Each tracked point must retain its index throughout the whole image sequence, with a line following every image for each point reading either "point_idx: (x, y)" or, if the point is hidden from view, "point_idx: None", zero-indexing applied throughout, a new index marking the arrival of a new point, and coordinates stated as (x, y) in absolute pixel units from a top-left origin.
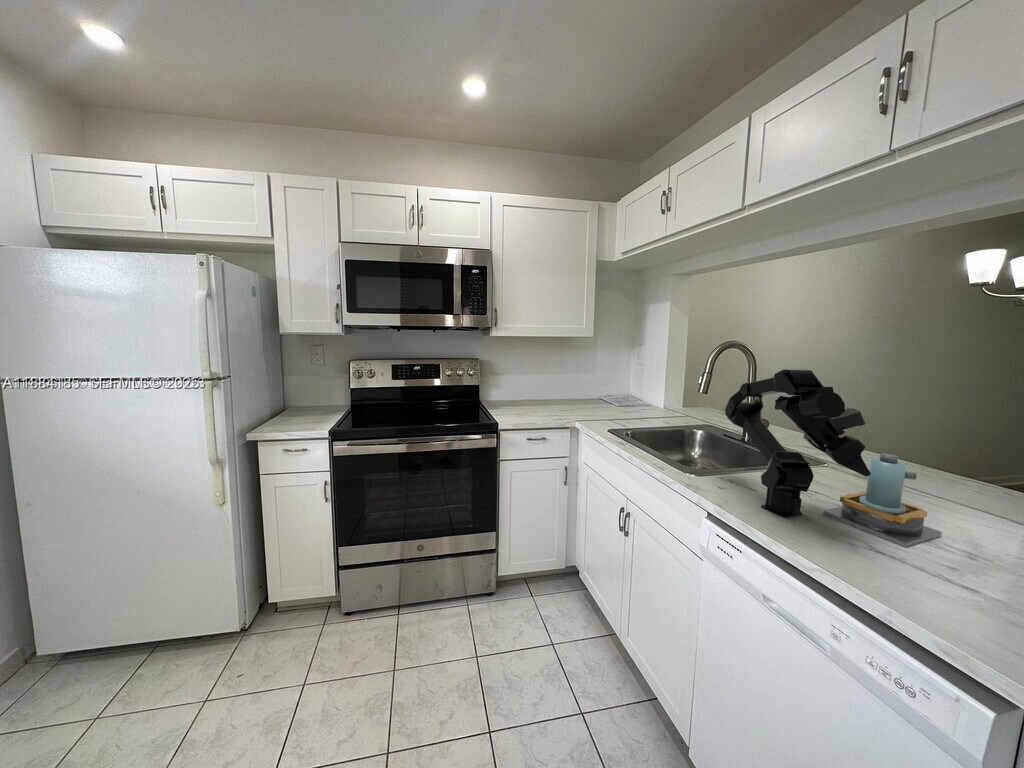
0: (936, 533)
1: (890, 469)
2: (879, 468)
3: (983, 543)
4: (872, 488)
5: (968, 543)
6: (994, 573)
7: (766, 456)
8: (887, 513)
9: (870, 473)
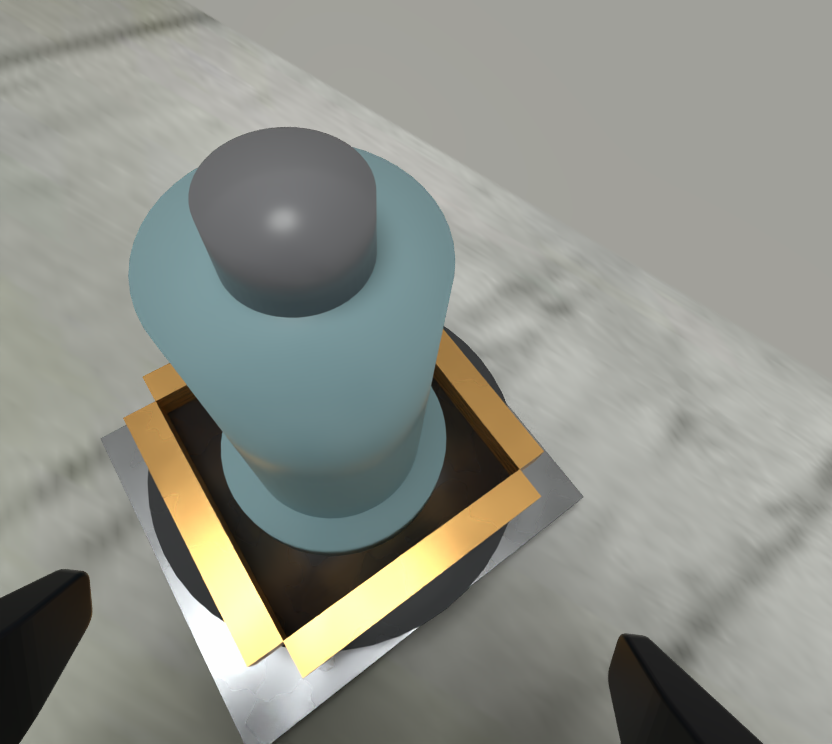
0: None
1: (440, 330)
2: (379, 400)
3: None
4: (355, 487)
5: None
6: (654, 315)
7: None
8: (494, 496)
9: (657, 646)
